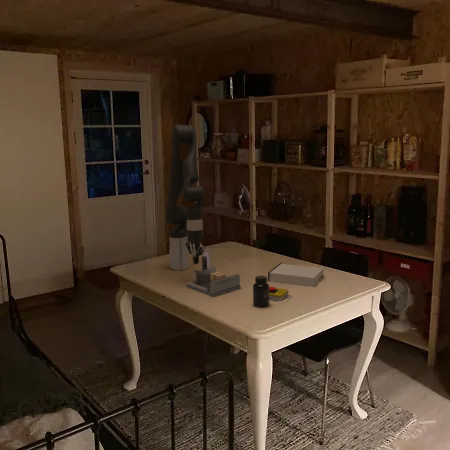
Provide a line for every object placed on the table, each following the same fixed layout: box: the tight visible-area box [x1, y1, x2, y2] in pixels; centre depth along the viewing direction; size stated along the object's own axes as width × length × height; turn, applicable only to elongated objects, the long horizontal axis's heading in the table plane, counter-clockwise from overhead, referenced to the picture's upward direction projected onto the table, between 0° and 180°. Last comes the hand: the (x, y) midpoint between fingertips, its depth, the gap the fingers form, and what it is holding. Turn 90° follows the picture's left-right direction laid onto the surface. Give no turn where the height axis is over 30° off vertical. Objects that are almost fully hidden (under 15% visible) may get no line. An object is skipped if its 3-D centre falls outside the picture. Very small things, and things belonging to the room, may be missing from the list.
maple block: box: [211, 271, 227, 281], centre depth 234 cm, size 5×5×6 cm
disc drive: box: [267, 262, 325, 288], centre depth 247 cm, size 18×22×5 cm
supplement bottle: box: [252, 275, 270, 308], centre depth 213 cm, size 7×7×12 cm
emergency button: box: [269, 286, 294, 302], centre depth 223 cm, size 9×4×15 cm
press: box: [186, 273, 242, 298], centre depth 236 cm, size 20×16×6 cm
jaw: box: [192, 255, 217, 284], centre depth 240 cm, size 2×12×12 cm, turn 132°
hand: (195, 263), depth 244 cm, fingers closed
